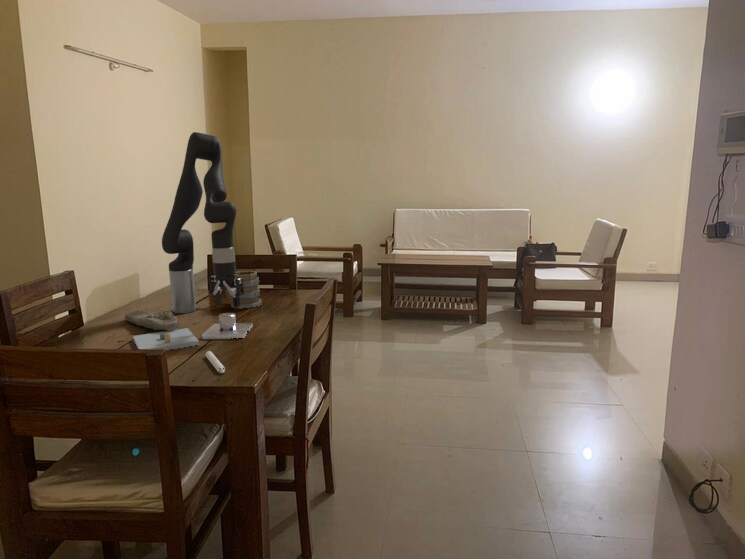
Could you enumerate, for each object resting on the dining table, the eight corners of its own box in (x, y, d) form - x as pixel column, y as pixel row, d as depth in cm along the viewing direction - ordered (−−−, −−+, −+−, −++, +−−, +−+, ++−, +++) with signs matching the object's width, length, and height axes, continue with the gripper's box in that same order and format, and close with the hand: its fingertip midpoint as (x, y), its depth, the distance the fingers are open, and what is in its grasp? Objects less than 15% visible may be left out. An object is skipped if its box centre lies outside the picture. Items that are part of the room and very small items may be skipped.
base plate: (133, 340, 188) (132, 327, 187) (188, 332, 196) (187, 319, 196) (140, 354, 172) (138, 341, 172) (199, 345, 181) (198, 332, 180)
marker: (227, 374, 155) (226, 367, 154) (219, 376, 154) (219, 368, 153) (212, 356, 170) (211, 349, 170) (205, 358, 169) (204, 350, 169)
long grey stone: (143, 319, 220) (118, 325, 213) (141, 306, 219) (116, 312, 212) (187, 326, 196) (160, 333, 189) (185, 311, 195) (158, 318, 188)
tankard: (267, 303, 237) (266, 269, 234) (246, 310, 227) (244, 274, 224) (234, 298, 248) (232, 265, 245) (212, 304, 237) (210, 270, 234)
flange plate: (202, 339, 188) (200, 320, 186) (214, 327, 201) (213, 310, 200) (243, 338, 187) (242, 319, 186) (252, 327, 201) (251, 309, 200)
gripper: (247, 260, 189) (250, 306, 192) (217, 257, 196) (220, 302, 199) (231, 263, 183) (234, 310, 186) (200, 260, 190) (204, 306, 193)
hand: (227, 306), depth 193 cm, fingers open, 8 cm apart
